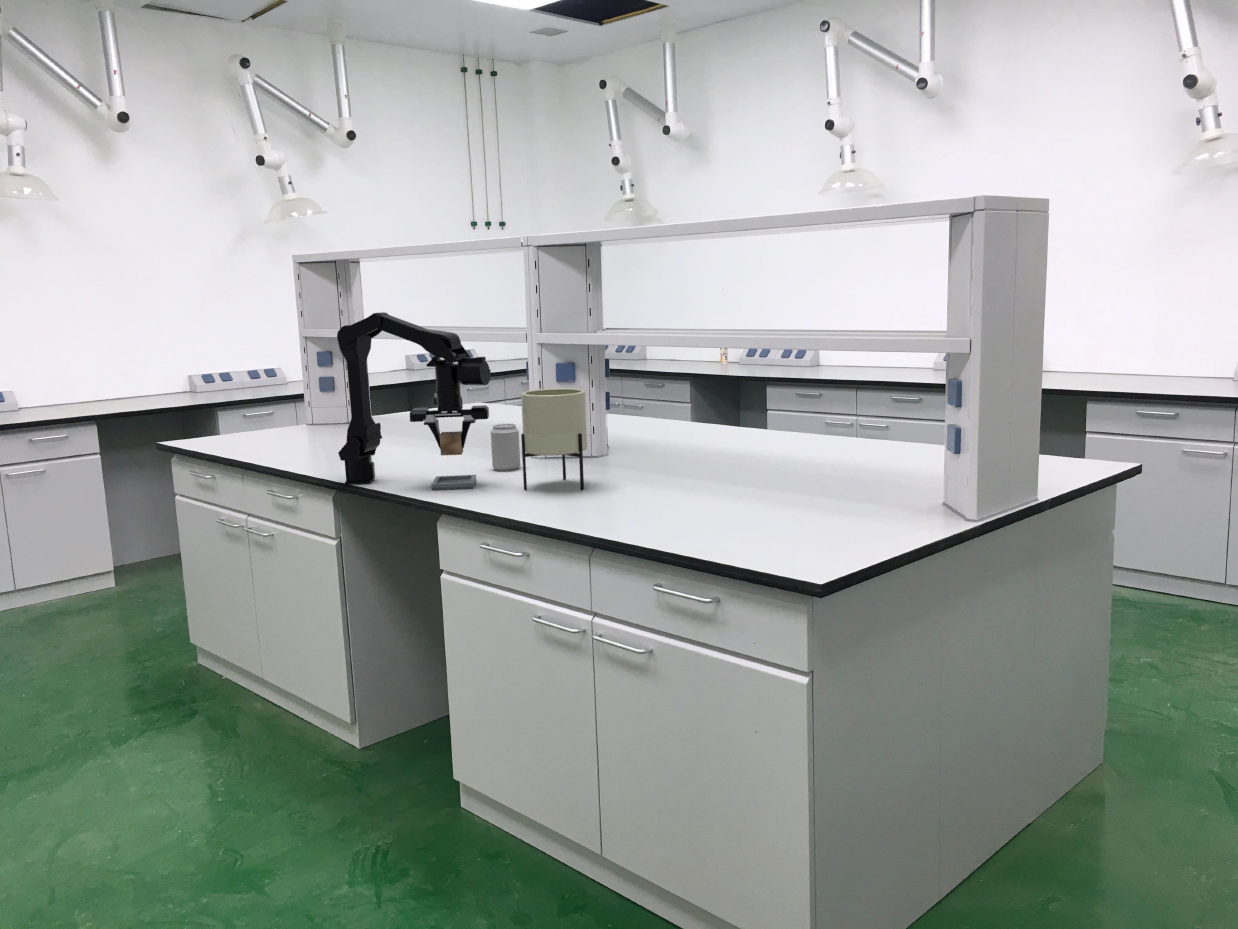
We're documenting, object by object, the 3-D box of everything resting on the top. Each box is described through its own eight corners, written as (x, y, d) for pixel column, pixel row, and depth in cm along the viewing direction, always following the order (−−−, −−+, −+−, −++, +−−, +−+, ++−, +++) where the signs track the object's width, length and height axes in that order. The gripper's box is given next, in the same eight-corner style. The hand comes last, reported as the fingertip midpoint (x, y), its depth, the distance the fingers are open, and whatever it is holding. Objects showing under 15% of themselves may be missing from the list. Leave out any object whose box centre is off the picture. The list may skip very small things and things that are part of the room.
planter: (516, 484, 240) (511, 391, 236) (577, 478, 246) (573, 386, 241) (532, 496, 226) (528, 397, 222) (597, 489, 232) (593, 392, 227)
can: (494, 472, 256) (492, 427, 254) (490, 467, 263) (488, 423, 261) (523, 470, 258) (520, 425, 256) (518, 465, 265) (515, 421, 263)
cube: (440, 455, 237) (439, 435, 236) (443, 451, 242) (441, 432, 241) (461, 454, 237) (460, 434, 236) (463, 451, 242) (462, 431, 241)
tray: (431, 490, 236) (431, 484, 236) (436, 482, 246) (436, 476, 245) (473, 488, 237) (472, 482, 236) (476, 480, 246) (476, 474, 246)
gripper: (488, 380, 245) (492, 441, 248) (413, 383, 244) (418, 444, 247) (485, 385, 234) (489, 449, 237) (407, 387, 233) (411, 452, 236)
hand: (451, 448), depth 239 cm, fingers closed on cube, 5 cm apart
